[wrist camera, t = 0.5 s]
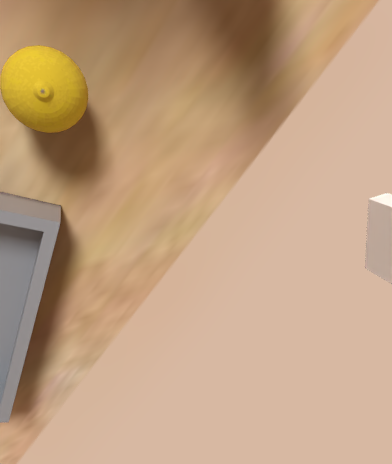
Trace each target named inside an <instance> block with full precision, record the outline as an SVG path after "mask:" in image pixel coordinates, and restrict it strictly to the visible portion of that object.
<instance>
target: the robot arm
mask: <svg viewBox="0 0 392 464" xmlns="http://www.w3.org/2000/svg"><path fill="white" fill-rule="evenodd" d="M366 242H367V243H366V260H365V268H366V269H367V270H369V271H371V272H372V273H374V274H376V275H377V276H379V277H381V278H383V279H384V280H386V281H388V282H389V283H391V284H392V194H388V193H386V194H382V195H379V196H376V197H373V198H370V199H369V204H368V223H367V241H366Z"/></svg>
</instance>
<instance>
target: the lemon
mask: <svg viewBox="0 0 392 464" xmlns="http://www.w3.org/2000/svg"><path fill="white" fill-rule="evenodd" d="M0 89H1V93H2V97H3V100H4V102H5V104H6V106H7V107H8V109H9V111H10V112H11V113H12V114H13V115H14V116H15V118H16V119H17V120H19V121H20V122H21V123H23V124H24V125H25V126H27V127H30V128H32V129H34V130H36V131H41V132H46V133H53V132H60V131H64V130H67V129H69V128H70V127H72V126H73V125H75V124H76V123H77V122H78V121H79V120H80V119H81V118H82V116H83V114H84V112H85V110H86V107H87V102H88V88H87V84H86V81H85V78H84V76H83V74H82V72H81V70H80V69H79V67H78V66H77V65H76V64H75V63H74V62H73V60H72V59H71V58H69V57H68V56H66V55H65V54H64V53H62V52H61V51H58V50H56V49H53V48H51V47H46V46H40V45H38V46H28V47H25V48H23V49H21V50H18V51H17V52H15V53H14V54H13V55H12V56H11V57H9V59H8V60H7V62H6V63H5V65H4V66H3V69H2V73H1V77H0Z"/></svg>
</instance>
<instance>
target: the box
mask: <svg viewBox="0 0 392 464" xmlns="http://www.w3.org/2000/svg"><path fill="white" fill-rule="evenodd" d="M60 222H61V206H60V205H55V204H51V203H47V202H43V201H38V200H34V199H30V198H25V197H21V196H17V195H12V194H8V193H4V192H0V422H9V419H10V415H11V411H12V407H13V403H14V400H15V396H16V392H17V388H18V384H19V380H20V376H21V373H22V369H23V365H24V361H25V357H26V353H27V350H28V346H29V342H30V338H31V334H32V330H33V326H34V323H35V319H36V315H37V311H38V307H39V303H40V300H41V296H42V292H43V288H44V284H45V280H46V276H47V273H48V269H49V265H50V261H51V257H52V253H53V250H54V246H55V242H56V238H57V234H58V230H59V226H60Z"/></svg>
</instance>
